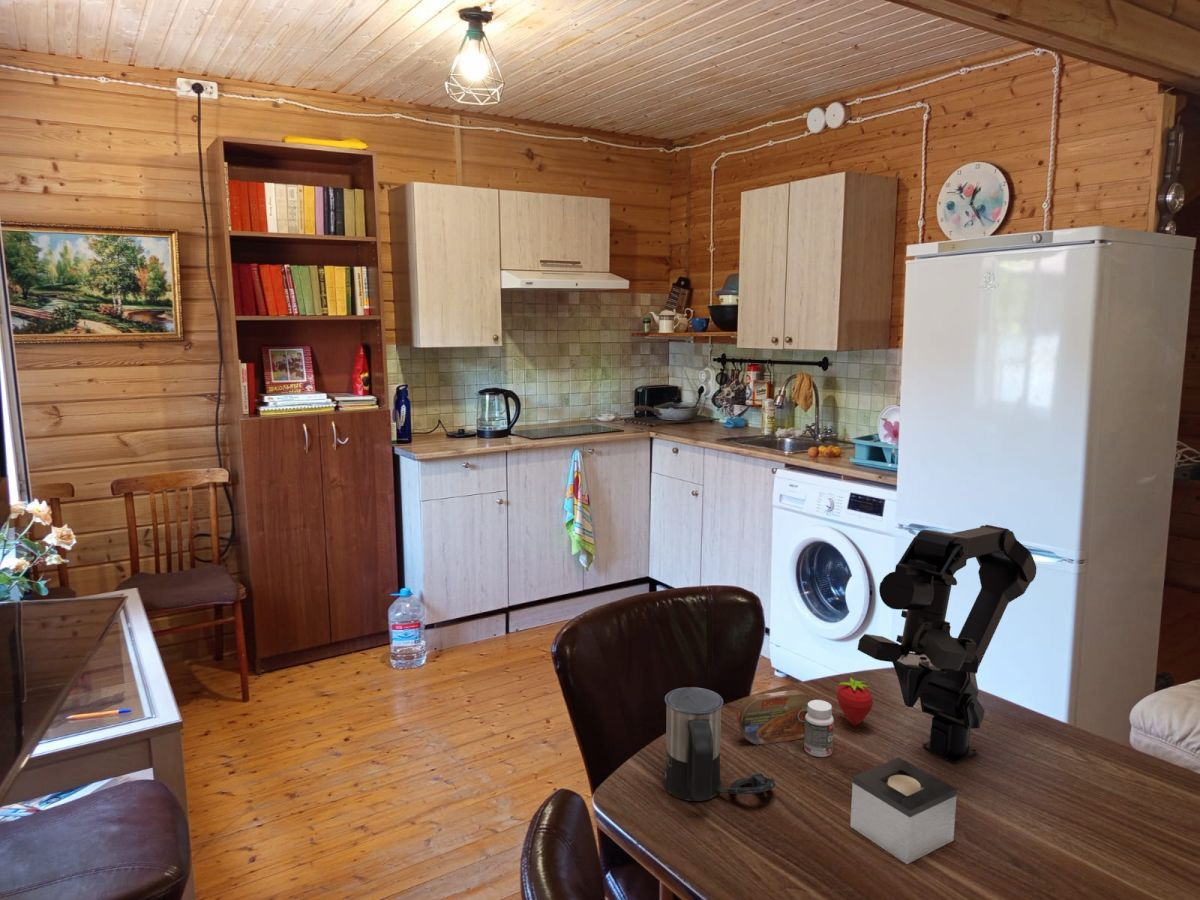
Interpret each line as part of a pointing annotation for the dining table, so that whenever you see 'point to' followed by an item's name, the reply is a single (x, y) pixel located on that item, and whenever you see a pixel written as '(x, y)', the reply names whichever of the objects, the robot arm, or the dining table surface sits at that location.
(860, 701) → the strawberry
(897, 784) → the peg
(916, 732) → the dining table surface
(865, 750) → the dining table surface
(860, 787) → the collar
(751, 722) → the tin
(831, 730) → the pill bottle
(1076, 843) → the dining table surface
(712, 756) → the milk frother
